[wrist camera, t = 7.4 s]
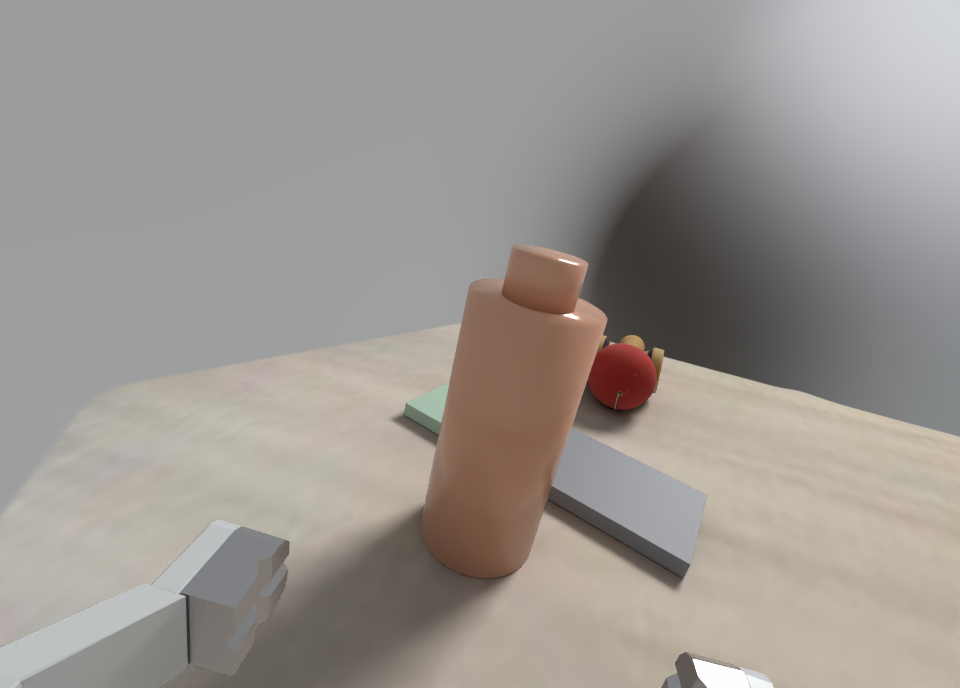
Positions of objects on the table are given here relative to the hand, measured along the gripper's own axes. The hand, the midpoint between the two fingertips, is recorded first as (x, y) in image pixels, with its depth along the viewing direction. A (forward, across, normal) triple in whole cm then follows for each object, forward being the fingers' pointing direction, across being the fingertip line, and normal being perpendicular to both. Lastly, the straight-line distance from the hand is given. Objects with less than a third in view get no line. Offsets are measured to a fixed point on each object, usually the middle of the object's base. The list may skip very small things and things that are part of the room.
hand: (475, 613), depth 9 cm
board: (+20, -4, +9) cm, 23 cm away
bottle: (+12, 0, +9) cm, 15 cm away
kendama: (+38, -12, +10) cm, 41 cm away
